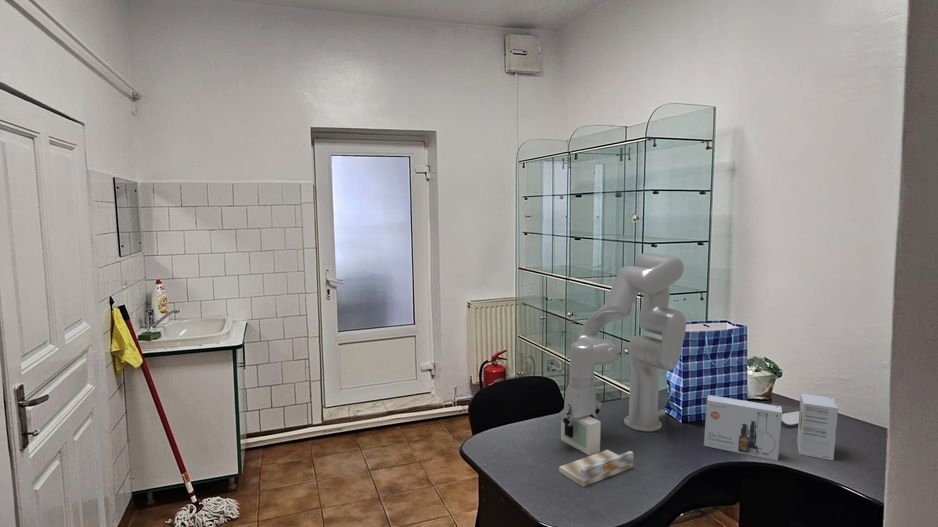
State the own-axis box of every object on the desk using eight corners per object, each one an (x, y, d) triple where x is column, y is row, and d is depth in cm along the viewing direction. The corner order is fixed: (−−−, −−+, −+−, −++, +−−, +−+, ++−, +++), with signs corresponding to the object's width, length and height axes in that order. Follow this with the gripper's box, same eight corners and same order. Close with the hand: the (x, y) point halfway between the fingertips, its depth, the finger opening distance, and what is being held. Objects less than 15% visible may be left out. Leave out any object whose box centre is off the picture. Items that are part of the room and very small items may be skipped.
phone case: (798, 414, 205) (767, 420, 199) (798, 410, 205) (767, 415, 199) (821, 423, 197) (789, 430, 191) (821, 419, 197) (789, 425, 191)
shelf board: (607, 454, 173) (607, 439, 172) (633, 468, 164) (634, 452, 163) (559, 471, 162) (559, 456, 161) (584, 487, 153) (584, 471, 153)
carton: (570, 436, 185) (571, 408, 184) (599, 451, 174) (600, 421, 173) (560, 440, 183) (561, 411, 181) (588, 455, 172) (589, 424, 171)
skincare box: (703, 447, 178) (706, 399, 176) (704, 440, 182) (707, 393, 180) (778, 462, 168) (782, 411, 166) (778, 454, 173) (782, 405, 171)
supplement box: (796, 442, 181) (800, 392, 179) (829, 448, 177) (834, 397, 175) (798, 454, 172) (803, 402, 170) (834, 461, 168) (838, 407, 166)
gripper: (592, 373, 184) (591, 422, 186) (552, 382, 174) (551, 434, 176) (609, 379, 177) (608, 430, 180) (569, 389, 168) (568, 443, 170)
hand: (580, 432), depth 178 cm, fingers open, 9 cm apart
